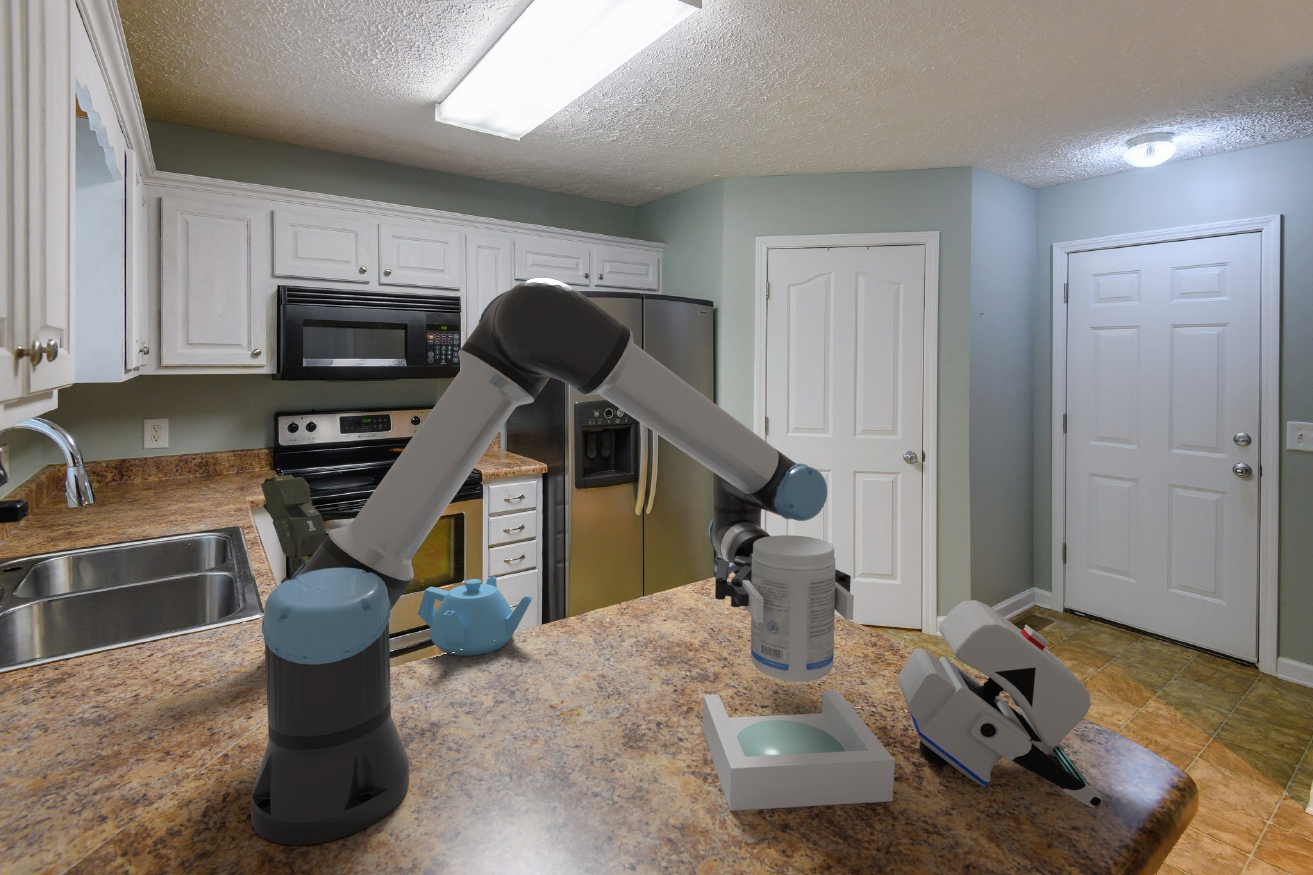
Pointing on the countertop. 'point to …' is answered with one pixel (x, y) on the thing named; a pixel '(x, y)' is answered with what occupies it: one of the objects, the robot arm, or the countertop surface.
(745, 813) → the countertop surface
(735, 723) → the housing
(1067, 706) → the robotic device
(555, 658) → the countertop surface
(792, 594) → the supplement tub
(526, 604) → the teapot
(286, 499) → the mechanical leg
